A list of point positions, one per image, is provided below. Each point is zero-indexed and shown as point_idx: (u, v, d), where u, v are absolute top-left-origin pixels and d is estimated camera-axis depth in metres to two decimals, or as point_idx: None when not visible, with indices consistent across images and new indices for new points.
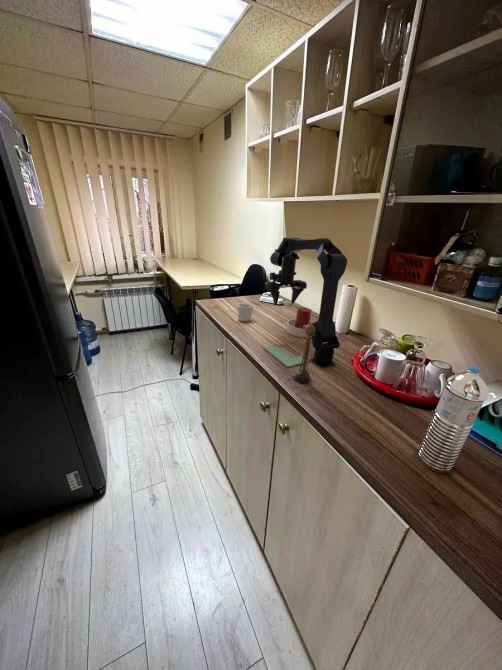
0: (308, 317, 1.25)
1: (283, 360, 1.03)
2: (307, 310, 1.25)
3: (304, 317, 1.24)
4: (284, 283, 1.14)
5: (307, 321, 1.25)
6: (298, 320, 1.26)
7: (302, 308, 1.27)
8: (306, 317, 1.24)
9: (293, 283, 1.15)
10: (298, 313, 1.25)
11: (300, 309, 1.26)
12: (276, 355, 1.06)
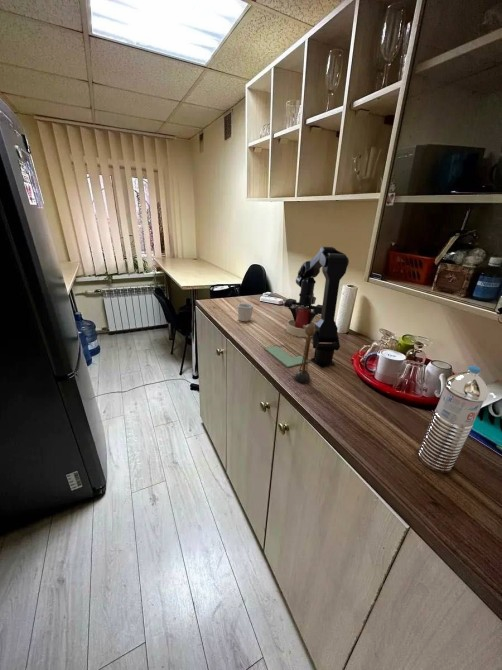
0: (308, 317, 1.25)
1: (283, 360, 1.03)
2: (307, 310, 1.25)
3: (304, 317, 1.24)
4: None
5: (307, 321, 1.25)
6: (298, 320, 1.26)
7: (302, 308, 1.27)
8: (306, 317, 1.24)
9: (306, 305, 1.22)
10: (298, 313, 1.25)
11: (300, 309, 1.26)
12: (276, 355, 1.06)
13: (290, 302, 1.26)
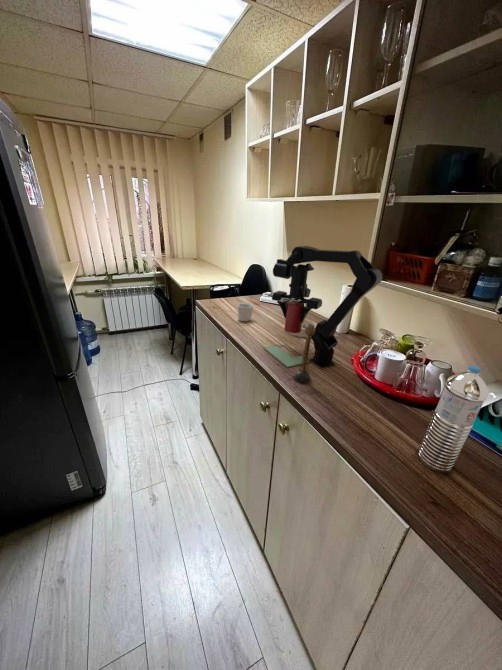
0: (300, 313, 1.03)
1: (283, 360, 1.03)
2: (299, 304, 1.04)
3: (295, 312, 1.03)
4: None
5: (299, 317, 1.04)
6: (288, 316, 1.05)
7: (293, 302, 1.06)
8: (297, 313, 1.03)
9: (297, 298, 1.01)
10: (288, 308, 1.04)
11: (291, 303, 1.04)
12: (276, 355, 1.06)
13: (279, 295, 1.05)
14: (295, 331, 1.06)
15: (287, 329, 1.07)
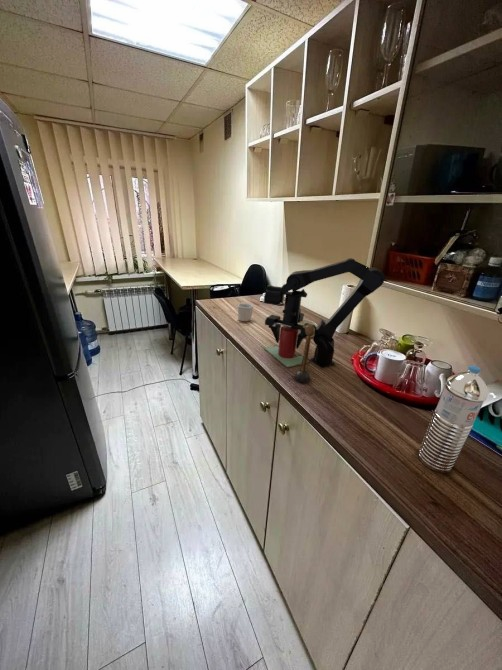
0: (294, 338, 1.02)
1: (283, 360, 1.03)
2: (293, 330, 1.02)
3: (289, 338, 1.01)
4: None
5: (293, 343, 1.02)
6: (282, 342, 1.03)
7: (287, 327, 1.04)
8: (291, 338, 1.01)
9: (291, 324, 0.99)
10: (282, 333, 1.02)
11: (284, 328, 1.03)
12: (276, 355, 1.06)
13: (272, 320, 1.03)
14: (289, 356, 1.04)
15: (281, 354, 1.05)
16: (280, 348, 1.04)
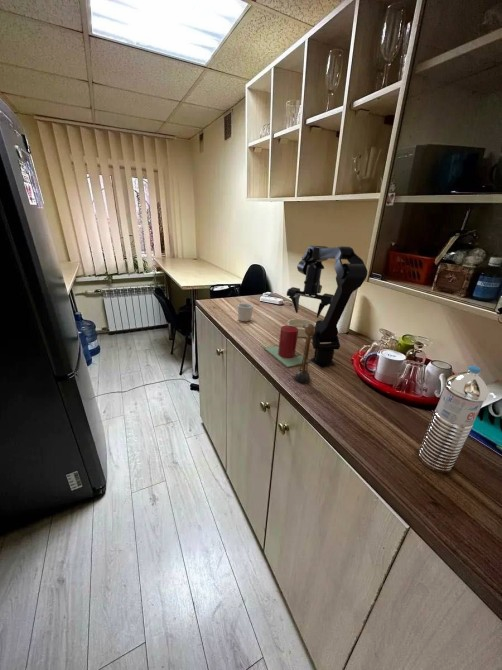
0: (294, 338, 1.02)
1: (283, 360, 1.03)
2: (293, 330, 1.02)
3: (289, 338, 1.01)
4: None
5: (293, 343, 1.02)
6: (282, 342, 1.03)
7: (287, 327, 1.04)
8: (291, 338, 1.01)
9: (312, 294, 1.08)
10: (282, 333, 1.02)
11: (284, 328, 1.03)
12: (276, 355, 1.06)
13: (294, 291, 1.12)
14: (289, 356, 1.04)
15: (281, 354, 1.05)
16: (280, 348, 1.04)
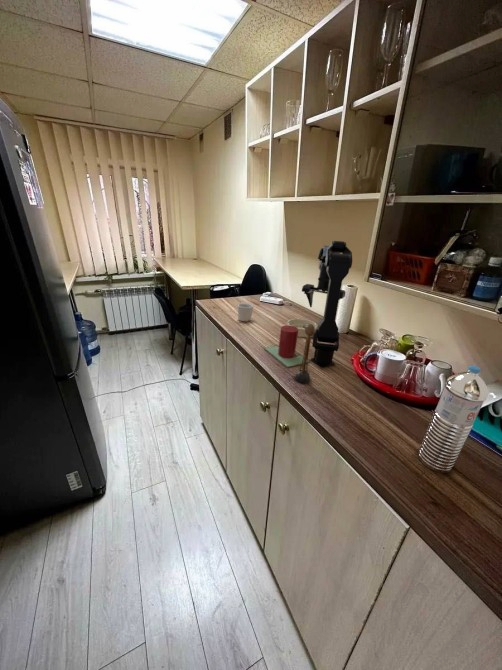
0: (294, 338, 1.02)
1: (283, 360, 1.03)
2: (293, 330, 1.02)
3: (289, 338, 1.01)
4: (317, 287, 1.23)
5: (293, 343, 1.02)
6: (282, 342, 1.03)
7: (287, 327, 1.04)
8: (291, 338, 1.01)
9: (325, 289, 1.20)
10: (282, 333, 1.02)
11: (284, 328, 1.03)
12: (276, 355, 1.06)
13: (308, 287, 1.24)
14: (289, 356, 1.04)
15: (281, 354, 1.05)
16: (280, 348, 1.04)
